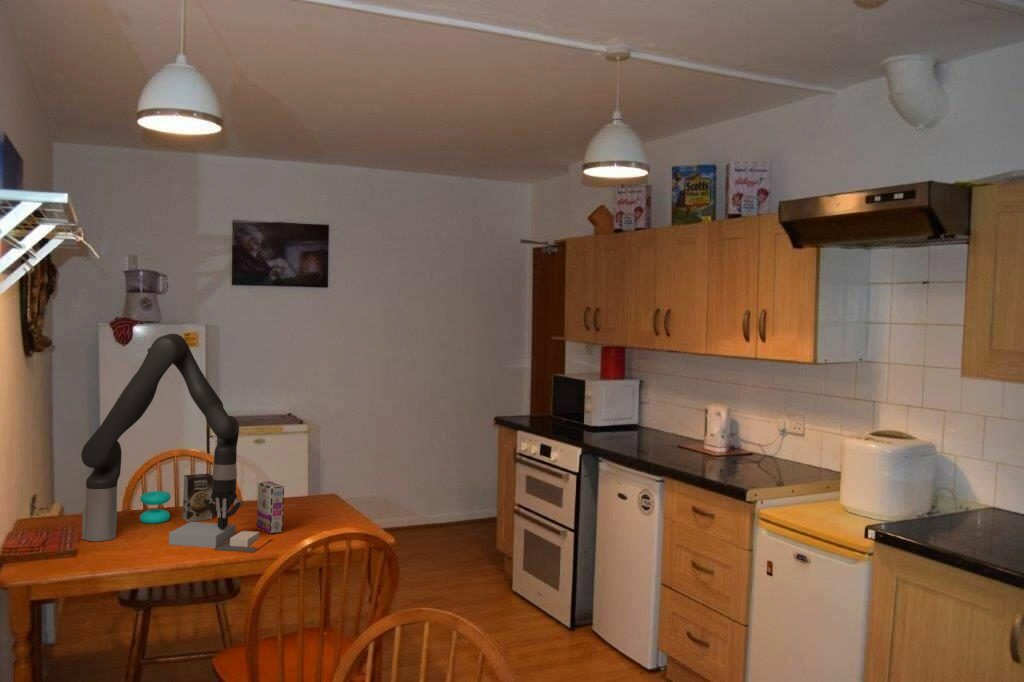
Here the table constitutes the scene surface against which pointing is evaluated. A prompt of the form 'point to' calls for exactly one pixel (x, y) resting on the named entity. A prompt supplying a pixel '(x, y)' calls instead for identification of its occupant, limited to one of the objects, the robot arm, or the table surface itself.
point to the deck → (201, 535)
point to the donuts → (155, 514)
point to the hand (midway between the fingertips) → (222, 528)
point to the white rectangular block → (244, 538)
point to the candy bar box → (270, 507)
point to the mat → (234, 548)
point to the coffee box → (197, 497)
